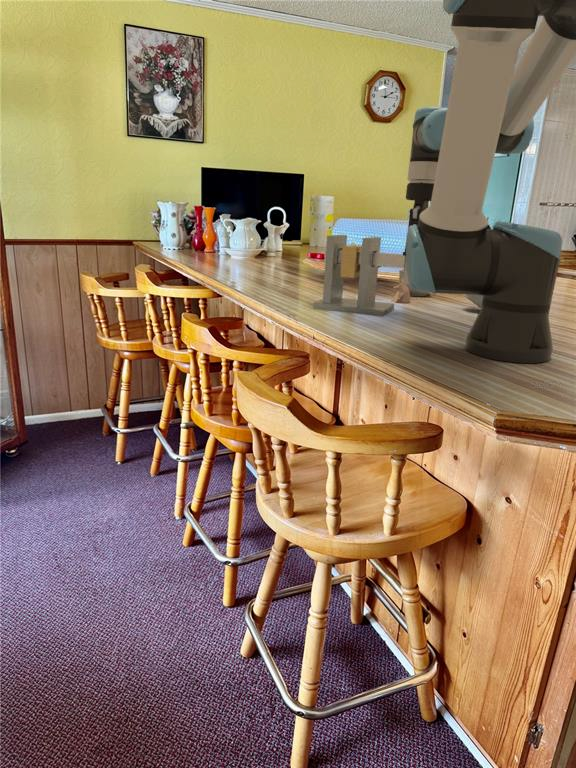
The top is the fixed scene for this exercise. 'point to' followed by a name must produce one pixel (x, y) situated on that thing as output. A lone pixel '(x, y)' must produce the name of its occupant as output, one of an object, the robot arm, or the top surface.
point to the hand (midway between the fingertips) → (412, 282)
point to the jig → (366, 280)
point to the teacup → (412, 291)
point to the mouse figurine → (402, 294)
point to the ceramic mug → (475, 299)
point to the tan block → (350, 261)
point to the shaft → (379, 259)
